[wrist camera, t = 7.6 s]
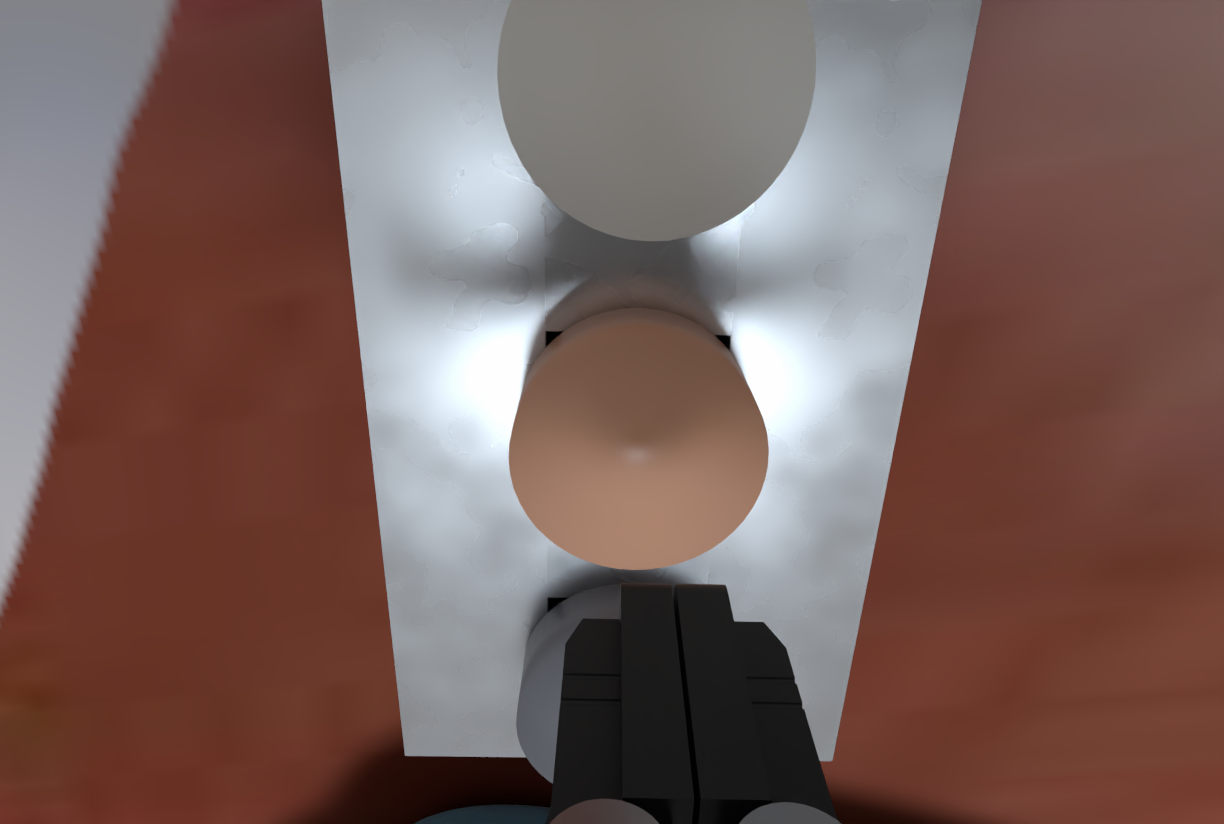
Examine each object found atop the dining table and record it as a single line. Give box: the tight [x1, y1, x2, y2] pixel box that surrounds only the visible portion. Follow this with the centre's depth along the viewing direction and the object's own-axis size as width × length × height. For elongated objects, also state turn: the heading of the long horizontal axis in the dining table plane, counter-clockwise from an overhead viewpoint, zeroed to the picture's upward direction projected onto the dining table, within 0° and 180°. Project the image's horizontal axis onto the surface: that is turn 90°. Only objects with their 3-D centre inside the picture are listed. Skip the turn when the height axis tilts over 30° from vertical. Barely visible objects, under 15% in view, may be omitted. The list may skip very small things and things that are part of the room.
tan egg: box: [509, 308, 769, 570], centre depth 18 cm, size 5×5×7 cm
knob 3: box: [516, 584, 673, 784], centre depth 21 cm, size 5×5×7 cm
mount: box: [322, 0, 982, 761], centre depth 20 cm, size 12×21×5 cm, turn 178°
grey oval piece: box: [497, 0, 816, 241], centre depth 16 cm, size 5×5×7 cm
